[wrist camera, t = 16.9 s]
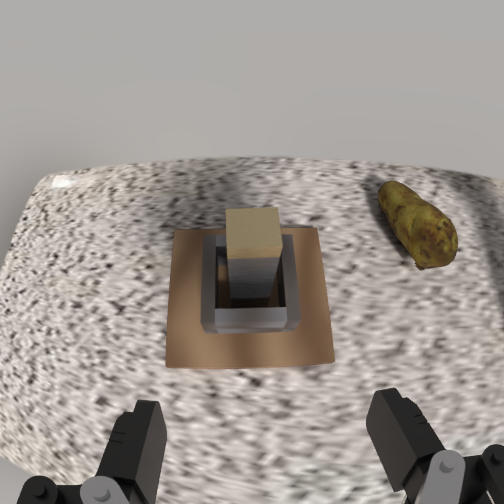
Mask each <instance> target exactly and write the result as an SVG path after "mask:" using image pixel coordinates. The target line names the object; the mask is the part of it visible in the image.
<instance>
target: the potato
mask: <svg viewBox="0 0 504 504" xmlns="http://www.w3.org/2000/svg"><path fill="white" fill-rule="evenodd" d="M378 200H379V201H378V202H379V205H380V207H381V209H382V210H383V212H384V214H385V215H386V216H387V219H388V221H389V224H390V226H391V228H392V229H393V231H394V233H395V235H396V236H397V237H398V239H399V240H400V241H401V242H402V244H403V245H404V246H405V248H406V249H407V250H408V252H409V253H410V255H411V256H412V258H413V259H414V261H415V262H416V263H415V264H416V265H417V266H416V265H415V266H416V267H417V268H418V269H419V270H421V271H422V270H424V269H425V268H426V269H430V268H435V267H443V266H446V265H448V264H450V263H451V262H452V261H453V260H454V258H455V256H456V253H457V248H458V237H457V233H456V230H455V227H454V225H453V223H452V222H451V220H450V219H449V218H448V217H446V216H445V215H444V214H443V213H442V212H441V211H440V210H439V209H438V208H436V207H435V206H433V205H432V204H430V203H429V202H427V201H424V200H423V199H421V198H420V197H419V195H418V194H416V193H415V192H414V191H413V190H411V189H410V188H408V187H407V186H406V185H404V184H402V183H399V182H397V181H388V182H386V183H384V184H383V185H382V186H381V188H380V189H379V191H378Z"/></svg>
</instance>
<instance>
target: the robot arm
mask: <svg viewBox="0 0 504 504" xmlns="http://www.w3.org/2000/svg"><path fill="white" fill-rule="evenodd" d="M366 427H367V431H368V433H369V435H370V438H371V440H372V442H373V444H374V447H375V449H376V451H377V454H378V456H379V458H380V460H381V463H382V465H383V467H384V470H385V472H386V474H387V477H388V479H389V481H390V484H391V486H392V488H393V491H394V492H397V491H400V490H403V489H404V490H405V492H406V495H405V497H404V499H403V501H402V504H492V502H491V500H490V498H489V496H488V494H487V493H486V492H487V491H488V492H489V494H490V495H491V497H492V499H493V501H494V503H495V504H504V446H502V445H499V444H494V445H490V446H489V447H487V448H486V449H485V451H484V452H483V453H482V455H476V456H468V457H462V456H461V455H460V454H459V453H457V452H455V451H452V450H446V449H445V448H444V446H443V445H442V443H441V441H440V440H439V438H438V437H437V435H436V433H435V432H434V430H433V429H432V427H431V426H430V424H429V423H427V419H426V418H425V416H424V415H423V413H422V412H421V410H420V409H419V407H418V406H417V404H415V403H414V402H413V401H411V400H410V399H409V398H407V397H406V398H402V396H401V395H400V393H399V392H398V390H397V389H396V388H389V389H384V390H378V391H376V392H375V393H374V396H373V399H372V402H371V405H370V409H369V412H368V414H367V418H366ZM166 441H167V430H166V425H165V421H164V418H163V414H162V410H161V407H160V403H159V402H158V401H149V400H138V401H137V403H136V405H135V408H134V411H133V412H126V411H125V412H124V413H123V414H122V415H121V416H120V417H119V418H118V419H117V420H116V422H115V425H114V427H113V430H112V433H111V435H110V438H109V442H108V443H107V446H106V449H105V451H104V454H103V457H102V460H101V463H100V465H99V468H98V471H97V473H96V475H95V476H94V477H91V478H89V479H87V480H86V481H85V482H84V483H83V484H81V485H56V484H55V483H54V482H53V481H52V480H51V479H49V478H48V477H45V476H33V477H31V478H29V479H28V480H27V481H26V482H25V483H24V485H23V488H22V491H21V493H20V496H19V498H18V501H17V504H155V501H156V495H157V489H158V484H159V478H160V473H161V467H162V462H163V457H164V452H165V447H166Z"/></svg>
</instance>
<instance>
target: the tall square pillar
mask: <svg viewBox="0 0 504 504" xmlns="http://www.w3.org/2000/svg"><path fill="white" fill-rule="evenodd" d="M226 243H227V259H228V272H229V285H230V297H231V308H232V309H234V308H255V307H267V306H268V303H269V299H270V295H271V291H272V287H273V283H274V279H275V275H276V271H277V267H278V263H279V259H280V255H281V251H282V247H283V244H282V236H281V229H280V222H279V215H278V207H272V208H240V209H226Z"/></svg>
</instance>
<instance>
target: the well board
mask: <svg viewBox="0 0 504 504" xmlns="http://www.w3.org/2000/svg"><path fill="white" fill-rule="evenodd" d="M280 229H281V236H282V244H283V247H282V251H281V255H280V259H279V263H278V267H277V271H276V275H275V279H274V283H273V287H272V291H271V295H270V299H269V303H268V306H267V307H255V308H234V309H232V308H231V297H230V285H229V272H228V259H227V243H226V229H183V230H175V233H174V242H173V252H172V263H171V274H170V287H169V301H168V317H167V338H166V367H168V368H190V369H245V368H272V367H290V366H304V365H316V364H327V363H333V362H335V358H334V348H333V339H332V330H331V321H330V313H329V305H328V298H327V290H326V283H325V276H324V269H323V263H322V256H321V250H320V244H319V237H318V232H317V228H280Z"/></svg>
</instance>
